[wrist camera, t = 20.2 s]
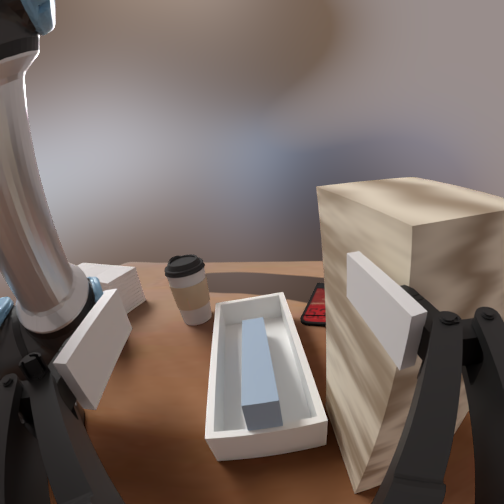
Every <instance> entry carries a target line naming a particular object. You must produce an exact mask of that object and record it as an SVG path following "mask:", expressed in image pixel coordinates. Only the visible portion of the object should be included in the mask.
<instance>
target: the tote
mask: <svg viewBox="0 0 504 504" xmlns="http://www.w3.org/2000/svg"><path fill="white" fill-rule="evenodd" d="M260 317H263V319H264V324H265V329H266V334H267V340H268V345H269V350H270V355H271V361H272V366H273V371H274V376H275V381H276V387H277V392H278V397H279V402H280V409H281V415H282V421H283V426H278V427H272V428H265V429H258V430H251V431H248V429H247V426H246V422H245V418H244V414H243V410H242V406H241V383H242V320H248V319H254V318H260ZM327 426H328V419H327V416H326V413H325V411H324V408H323V405H322V402H321V399H320V396H319V393H318V390H317V387H316V384H315V381H314V378H313V375H312V373H311V370H310V367H309V364H308V361H307V358H306V355H305V352H304V350H303V347H302V344H301V341H300V338H299V335H298V332H297V330H296V327H295V324H294V321H293V318H292V316H291V313H290V310H289V307H288V304H287V302H286V299H285V296H284V294H283V292H280V293H274V294H269V295H263V296H257V297H251V298H245V299H239V300H233V301H226V302H220V303H216V308H215V318H214V328H213V339H212V350H211V361H210V373H209V385H208V398H207V412H206V427H205V440H206V442H207V444H208V445H209V447H210V449H211V451H212V452H213V454H214V456H215V458H216V459H217V461H225V460H238V459H248V458H257V457H265V456H272V455H278V454H284V453H290V452H295V451H300V450H305V449H310V448H314V447H319V446H323V445H326V441H327Z"/></svg>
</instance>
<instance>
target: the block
mask: <svg viewBox="0 0 504 504" xmlns="http://www.w3.org/2000/svg"><path fill="white" fill-rule="evenodd" d="M241 406H242V410H243V414H244V418H245V422H246V426H247V429H248V431H251V430H258V429H265V428H272V427H278V426H283V421H282V415H281V409H280V402H279V397H278V392H277V387H276V381H275V376H274V371H273V366H272V361H271V355H270V350H269V345H268V340H267V334H266V329H265V324H264V319H263V317H260V318H254V319H248V320H242V383H241Z"/></svg>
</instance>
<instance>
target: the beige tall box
mask: <svg viewBox="0 0 504 504" xmlns="http://www.w3.org/2000/svg"><path fill="white" fill-rule="evenodd" d="M316 188H317V197H318V205H319V217H320V228H321V239H322V252H323V267H324V285H325V307H326V410H327V413H328V416H329V418H330V421H331V424H332V427H333V430H334V433H335V436H336V439H337V442H338V445H339V448H340V451H341V454H342V457H343V460H344V463H345V466H346V469H347V472H348V475H349V478H350V481H351V484H352V487H353V490H354V493H359V492H362V491H365V490H368V489H371V488H373V487H376V486H379V485H381V483H382V481H383V479H384V477H385V475H386V472H387V470H388V468H389V465H390V463H391V461H392V458H393V456H394V453H395V450H396V448H397V445H398V442H399V440H400V437H401V434H402V431H403V428H404V425H405V422H406V419H407V416H408V413H409V409H410V406H411V402H412V399H413V395H414V391H415V388H416V384H417V376H418V373H419V369H420V366H421V363H422V359H421V358H420V357H419V356H418V355H417V358H416V362H415V365H414V366H411V367H408V368H406V369H403V370H399V369H398V367H397V366H396V364H395V363H394V362H393V360H392V359H391V357H390V356H389V354H388V353H387V352H386V350H385V349H384V347H383V346H382V344H381V343H380V342H379V340H378V339H377V337H376V336H375V335H374V333H373V332H372V330H371V329H370V328H369V326H368V325H367V324H366V322H365V321H364V319H363V318H362V317H361V315H360V314H359V313H358V311H357V310H356V309H355V307H354V306H353V305H352V303H351V302H350V301H349V299H348V298H347V253H351V252H356V251H360V252H361V253H362V254H363V255H364V256H366V257H367V258H368V259H369V260H370V261H372V262H373V263H374V264H375V265H376V266H377V267H379V268H380V269H381V270H382V271H383V272H384V273H386V274H387V275H388V276H389V277H390V278H391V279H392V280H394V281H395V282H396V283H397V284H398V285H399V286H401V285H407V286H409V287H411V288H414V289H415V290H416V291H417V292H418V293H419V294H420V295H422V296H423V297H424V299H426V300H427V301H428V302H430V303H431V304H432V305H433V306H434V307H435V308H436V309H437V310H439V311H440V312H441V311H450V312H454V313H455V314H457V315H459V317H460V318H461V319H470V318H474V314H475V311H476V309H478V308H479V307H490V308H493V309H494V310H496V311H497V312H498V313H499V314H500V316H501V318H502V319H503V321H504V198H502V197H498V196H495V195H491V194H487V193H484V192H480V191H475V190H471V189H468V188H464V187H459V186H455V185H451V184H446V183H441V182H437V181H432V180H427V179H421V178H416V177H407V178H395V179H384V180H372V181H362V182H353V183H343V184H335V185H326V186H319V187H316ZM468 411H469V406H468V400H467V395H466V390H465V385H464V380H463V375H462V374H461V387H460V397H459V405H458V413H457V419H456V425H455V431H454V434H455V432H456V431H457V429H458V427H459V426H460V424H461V422H462V421H463V419H464V417H465V416H466V414H467V412H468Z"/></svg>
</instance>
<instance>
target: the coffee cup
mask: <svg viewBox="0 0 504 504" xmlns="http://www.w3.org/2000/svg"><path fill="white" fill-rule="evenodd" d="M204 266H205V264H204V263H203V260H202V259H201V258H198V257H197V256H196V255H184V256H175V257H172V258H171V259H170V260H169V262H168V265H167V267H166V268H165V276H166V277H167V279H168V281H169V286H170V288H171V291H172V294H173V296H174V299H175V301H176V304H177V306H178V308H179V310H180V312H181V315H182V317H183V320H184V322H185V323H186V324H187V325H199V324H202V323H205V322H207V321H208V320H209V319H210V318H211V316H212V313H211V307H210V301H209V300H210V297H209V291H208V284H207V278H206V274H205V270H204Z"/></svg>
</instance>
